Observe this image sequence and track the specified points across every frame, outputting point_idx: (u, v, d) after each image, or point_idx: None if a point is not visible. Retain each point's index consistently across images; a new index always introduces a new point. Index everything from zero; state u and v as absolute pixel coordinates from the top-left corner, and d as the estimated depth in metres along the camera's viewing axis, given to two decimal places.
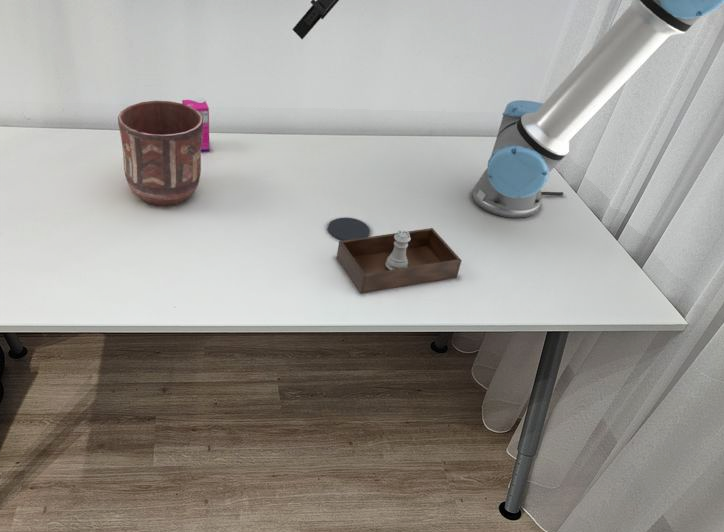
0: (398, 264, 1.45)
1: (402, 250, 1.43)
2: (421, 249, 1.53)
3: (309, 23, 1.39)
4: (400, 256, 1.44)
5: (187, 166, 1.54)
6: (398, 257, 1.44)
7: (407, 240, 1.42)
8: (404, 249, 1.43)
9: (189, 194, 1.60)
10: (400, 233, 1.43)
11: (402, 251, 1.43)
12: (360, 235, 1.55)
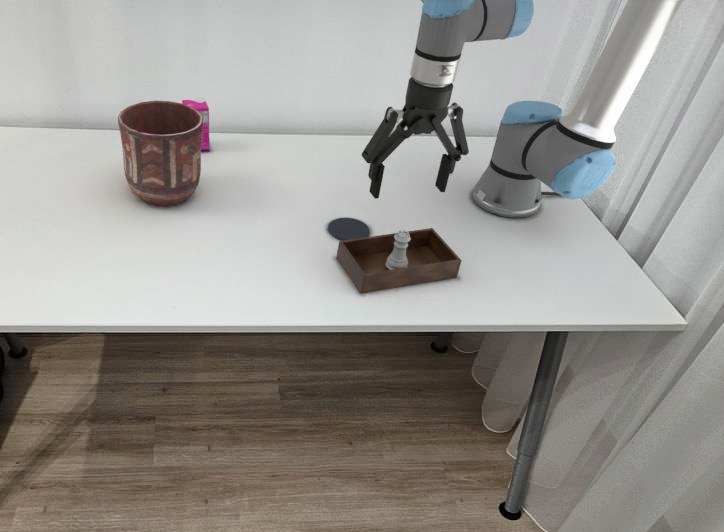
0: (398, 264, 1.45)
1: (402, 250, 1.43)
2: (421, 249, 1.53)
3: None
4: (400, 256, 1.44)
5: (187, 166, 1.54)
6: (398, 257, 1.44)
7: (407, 240, 1.42)
8: (404, 249, 1.43)
9: (189, 194, 1.60)
10: (400, 233, 1.43)
11: (402, 251, 1.43)
12: (360, 235, 1.55)
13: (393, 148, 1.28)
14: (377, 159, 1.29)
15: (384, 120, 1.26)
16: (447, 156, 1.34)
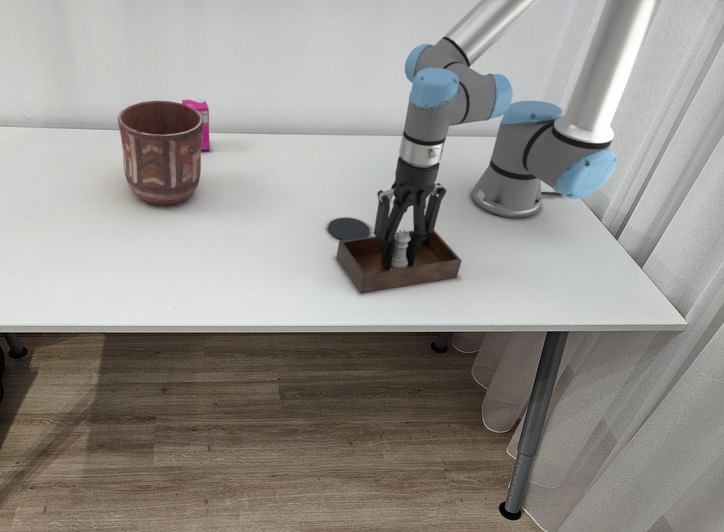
0: (398, 264, 1.45)
1: (402, 250, 1.43)
2: (421, 249, 1.53)
3: None
4: (400, 256, 1.44)
5: (187, 166, 1.54)
6: (398, 257, 1.44)
7: (407, 240, 1.42)
8: (404, 249, 1.43)
9: (189, 194, 1.60)
10: (400, 233, 1.43)
11: (402, 251, 1.43)
12: (360, 235, 1.55)
13: (397, 224, 1.38)
14: (387, 238, 1.40)
15: (379, 203, 1.36)
16: (413, 235, 1.44)
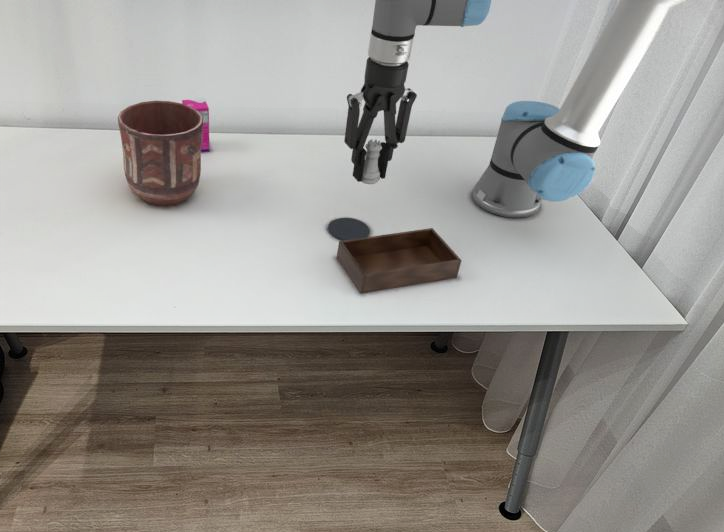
0: (370, 175, 1.43)
1: (373, 159, 1.42)
2: (421, 249, 1.53)
3: None
4: (372, 166, 1.43)
5: (187, 166, 1.54)
6: (369, 167, 1.43)
7: (378, 149, 1.40)
8: (376, 159, 1.42)
9: (189, 194, 1.60)
10: (371, 142, 1.41)
11: (374, 161, 1.42)
12: (360, 235, 1.55)
13: (367, 130, 1.37)
14: (358, 145, 1.39)
15: (349, 107, 1.35)
16: (385, 144, 1.42)
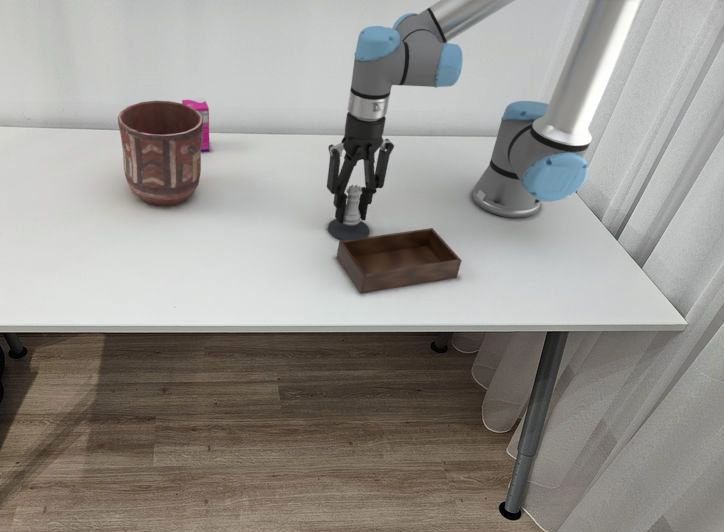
0: (350, 217, 1.53)
1: (354, 203, 1.52)
2: (421, 249, 1.53)
3: None
4: (353, 209, 1.52)
5: (187, 166, 1.54)
6: (350, 210, 1.53)
7: (358, 193, 1.50)
8: (356, 203, 1.52)
9: (189, 194, 1.60)
10: (352, 187, 1.51)
11: (354, 204, 1.52)
12: (360, 235, 1.55)
13: (348, 177, 1.47)
14: (339, 191, 1.49)
15: (331, 156, 1.45)
16: (365, 189, 1.52)
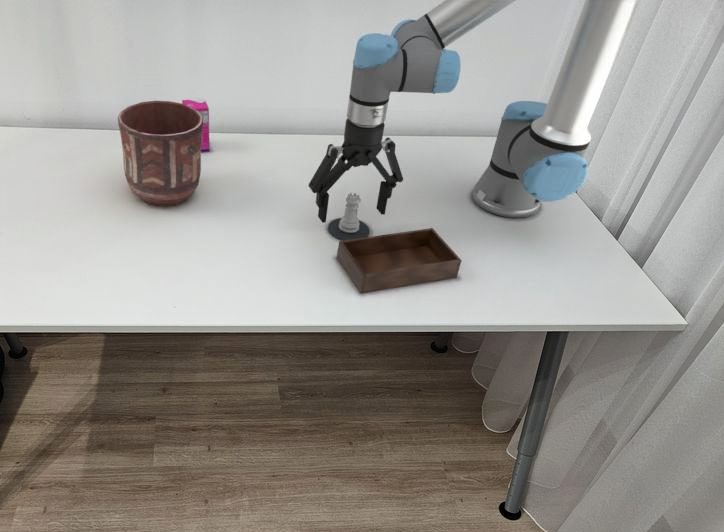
0: (349, 225, 1.54)
1: (353, 211, 1.53)
2: (421, 249, 1.53)
3: None
4: (352, 217, 1.54)
5: (187, 166, 1.54)
6: (349, 218, 1.54)
7: (357, 202, 1.51)
8: (355, 211, 1.53)
9: (189, 194, 1.60)
10: (351, 195, 1.52)
11: (353, 212, 1.53)
12: (360, 235, 1.55)
13: (336, 179, 1.46)
14: (322, 189, 1.47)
15: (326, 155, 1.44)
16: (385, 183, 1.52)
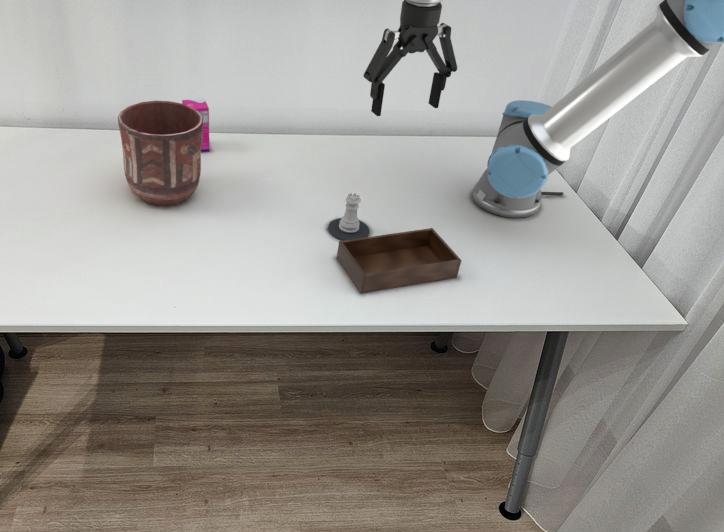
0: (349, 225, 1.54)
1: (353, 211, 1.53)
2: (421, 249, 1.53)
3: None
4: (352, 217, 1.54)
5: (187, 166, 1.54)
6: (349, 218, 1.54)
7: (357, 202, 1.51)
8: (355, 211, 1.53)
9: (189, 194, 1.60)
10: (351, 195, 1.52)
11: (353, 212, 1.53)
12: (360, 235, 1.55)
13: (392, 67, 1.43)
14: (378, 78, 1.44)
15: (382, 41, 1.41)
16: (438, 74, 1.50)
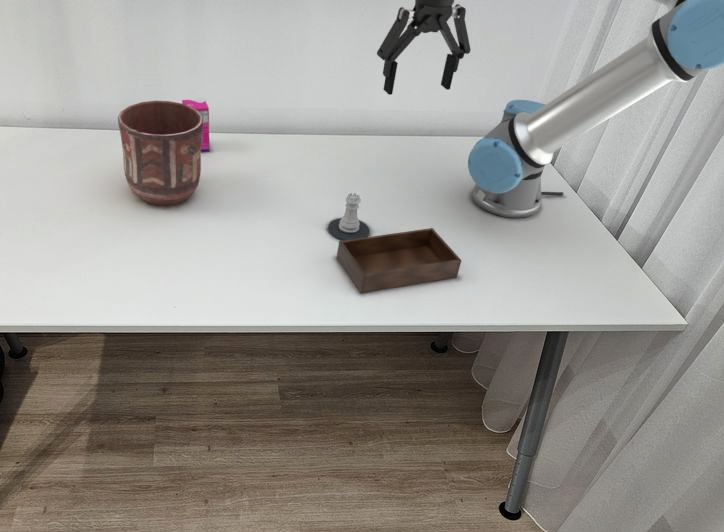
0: (349, 225, 1.54)
1: (353, 211, 1.53)
2: (421, 249, 1.53)
3: None
4: (352, 217, 1.54)
5: (187, 166, 1.54)
6: (349, 218, 1.54)
7: (357, 202, 1.51)
8: (355, 211, 1.53)
9: (189, 194, 1.60)
10: (351, 195, 1.52)
11: (353, 212, 1.53)
12: (360, 235, 1.55)
13: (405, 46, 1.45)
14: (391, 56, 1.46)
15: (397, 20, 1.43)
16: (451, 55, 1.51)
